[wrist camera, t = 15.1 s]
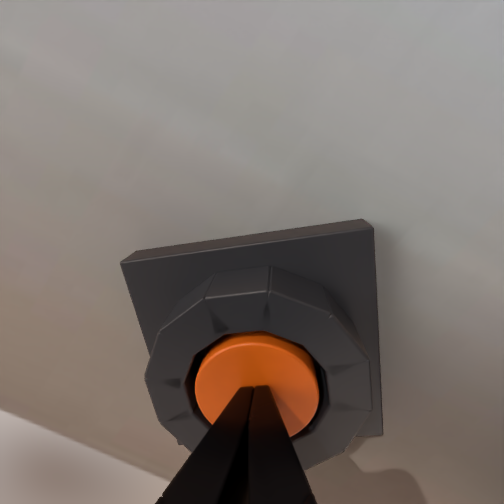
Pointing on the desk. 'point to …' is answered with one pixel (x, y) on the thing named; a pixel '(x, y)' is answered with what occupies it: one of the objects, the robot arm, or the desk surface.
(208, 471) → the robot arm
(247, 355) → the button
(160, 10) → the desk surface
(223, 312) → the button block
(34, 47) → the desk surface
